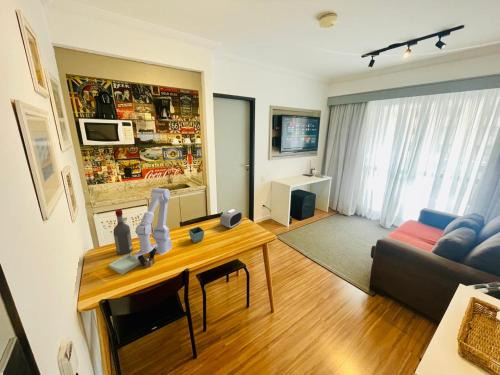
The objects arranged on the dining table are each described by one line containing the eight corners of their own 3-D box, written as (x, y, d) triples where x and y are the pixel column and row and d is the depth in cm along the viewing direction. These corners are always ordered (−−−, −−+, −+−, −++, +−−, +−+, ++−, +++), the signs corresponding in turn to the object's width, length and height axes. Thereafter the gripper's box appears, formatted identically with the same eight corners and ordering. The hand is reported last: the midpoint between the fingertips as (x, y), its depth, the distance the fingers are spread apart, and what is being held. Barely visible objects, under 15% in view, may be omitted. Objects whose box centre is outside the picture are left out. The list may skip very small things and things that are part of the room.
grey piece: (148, 261, 129) (148, 255, 128) (154, 264, 127) (153, 257, 125) (141, 265, 125) (140, 259, 123) (146, 268, 122) (146, 262, 121)
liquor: (117, 256, 132) (109, 214, 124) (117, 249, 139) (110, 209, 131) (133, 252, 137) (127, 211, 128) (132, 246, 144) (126, 206, 136)
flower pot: (194, 245, 148) (193, 234, 145) (188, 240, 154) (188, 229, 152) (204, 241, 153) (204, 230, 151) (199, 236, 160) (198, 226, 157)
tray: (130, 257, 132) (129, 253, 132) (142, 263, 127) (142, 259, 126) (109, 268, 122) (108, 264, 121) (122, 275, 116) (121, 271, 115)
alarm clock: (228, 230, 170) (228, 216, 166) (220, 227, 175) (219, 213, 171) (242, 222, 187) (243, 208, 183) (234, 219, 192) (234, 206, 188)
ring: (148, 260, 129) (148, 256, 128) (155, 263, 126) (155, 259, 125) (140, 265, 124) (140, 261, 123) (147, 268, 122) (147, 264, 121)
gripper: (151, 236, 129) (153, 254, 133) (129, 247, 117) (132, 267, 121) (159, 239, 126) (160, 257, 130) (136, 250, 114) (139, 271, 118)
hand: (147, 262), depth 125 cm, fingers closed on ring, 5 cm apart
